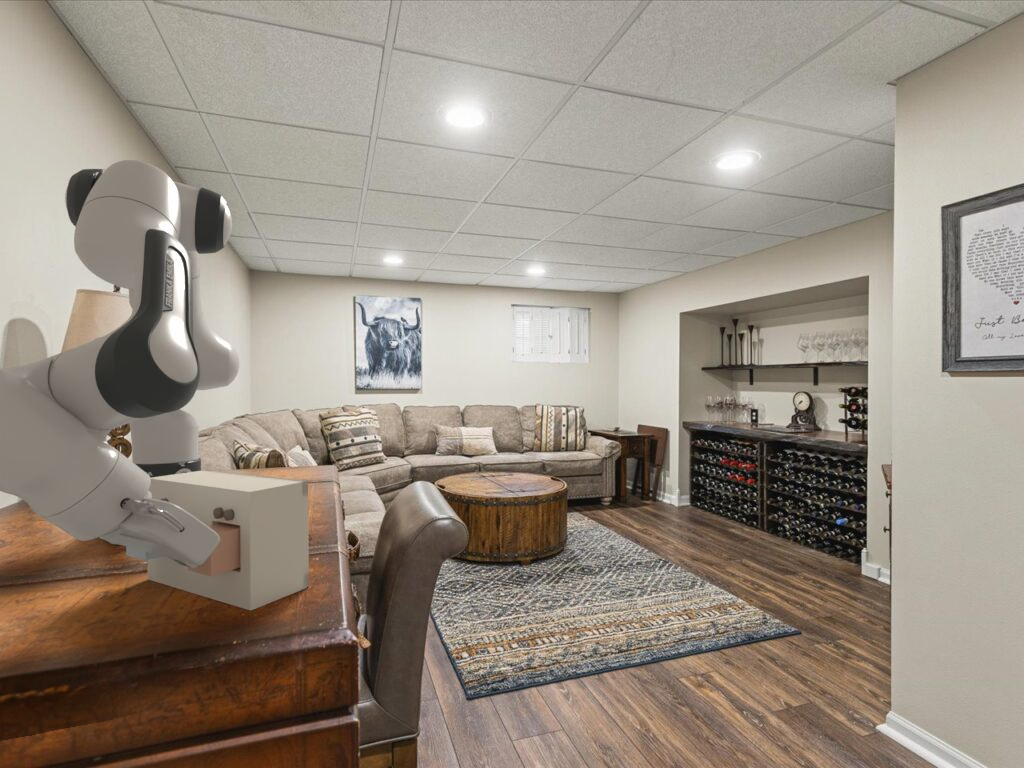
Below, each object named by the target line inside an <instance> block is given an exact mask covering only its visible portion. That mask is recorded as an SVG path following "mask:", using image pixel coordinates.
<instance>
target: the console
mask: <svg viewBox="0 0 1024 768" xmlns="http://www.w3.org/2000/svg"><path fill="white" fill-rule="evenodd" d="M150 479H151V484H150V487H149V491H150V492H151V494H152V499H157V500H162V501H167V502H170V503H173V504H175V505H177V506H178V507H180V508H182V509H184V510H185V511H187V512H188V513H190V514H191V515H193V516H194V517H195V518H197V519H198V520H200V521H201V522H203V523H204V524H205V525H207V526H211V525H215V524H219V523H228V524H234V525H239V526H240V562H241V567H240V568H236V569H233V570H230V571H227V572H224V573H221V574H218V575H215V576H207V575H204V574H200V573H196V572H193V571H189V570H188V567H187V566H183V565H180V564H178V563H176V562H175V561H173V560H172V559H170V558H168V557H164V556H162V557H158V558H154V559H151V560H147V580H149V581H152V582H155V583H159V584H162V585H165V586H167V587H168V586H169V587H172V588H174V589H178V590H181V591H185V592H188V593H191V594H194V595H198V596H201V597H205V598H207V599H210V600H214V601H216V602H217V601H218V602H221V603H224V604H227V605H231V606H234V607H237V608H240V609H244V610H247V611H253V610H255V609H259V608H260V607H263V606H265V605H268V604H270V603H273V602H276V601H278V600H280V599H282V598H286V597H288V596H290V595H293V594H295V593H298V592H300V591H303V590H305V589H308V588H309V587H310V585H309V584H310V581H309V580H310V579H309V577H310V576H309V575H310V572H309V571H310V568H309V567H310V565H309V564H310V563H309V562H310V561H309V559H310V554H309V544H310V543H309V542H310V540H309V539H310V537H309V480H305V479H304V480H303V479H302V480H301V479H295V478H286V477H277V476H268V475H267V476H266V475H260V474H259V475H257V474H246V473H239V472H230V471H221V470H220V471H219V470H212V469H204V470H202V469H201V471H195V472H188V473H181V474H174V475H167V476H159V477H152V478H150ZM307 587H308V588H307Z"/></svg>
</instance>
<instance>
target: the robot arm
mask: <svg viewBox="0 0 1024 768" xmlns="http://www.w3.org/2000/svg"><path fill="white" fill-rule="evenodd" d="M64 195H65V197H64V199H65V200H64V201H65V202H64V203H65V207H66V211H67V214H68V218H69V220H70V222H71V224H72V225H73V226H74V227H75V229H74V235H73V236H74V237H73V245H74V251H75V254H76V255H77V257H78V259H79V261H81V263H82V264H83V265H84V267H85V268H86V269H87V270H89V272H90V273H92V274H93V275H94V276H96V277H97V278H99V279H101V280H102V281H104V282H106V283H109V284H111V285H113V286H116V287H119V288H122V289H127V290H128V302H129V305H130V307H131V310H132V311H131V315H130V316H129V317H128V318H127V320H126V321H125V322H123V323H122V324H121V325H120V326H119V327H117V328H116V329H114V330H112V331H111V332H109V333H107V334H106V335H103V336H98V337H95V338H94V339H92V340H91V341H88V342H87V343H83V344H81V345H79V346H75V347H74V348H70V349H66V350H64V351H62V352H60V353H57V354H54V355H51V356H49V357H46V358H44V359H41V360H38V361H35V362H32V363H31V362H30V363H28V364H27V363H26V364H23V365H20V366H15V367H14V366H13V367H6V368H0V492H3V493H4V494H9V495H12V496H15V497H17V498H20V499H21V500H23V501H24V502H26V504H27V505H29V507H30V509H32V511H33V512H34V513H35V514H37V515H38V516H39V517H41V518H42V519H44V520H46V521H48V522H49V523H50V524H51V525H53V526H55V527H57V528H58V529H60V530H62V531H63V532H65V533H66V534H68V535H70V536H71V537H73V538H75V539H76V540H78V541H81V542H83V541H84V542H85V541H91V540H95V539H101V540H104V541H106V542H108V543H109V544H111V545H120V546H124V547H126V546H127V547H130V548H134V549H138V550H142V551H145V552H149V553H153V554H157V555H160V556H164V557H168V558H170V559H172V560H173V561H175V562H176V563H178V564H180V565H183V566H187V567H191V568H196V567H197V566H198V565H202V564H203V563H204V562H205V561H206V560H207V559H208V557H209V556H210V555H211V554H212V552H213V551H214V550H215V548H216V547H217V546H218V544H219V542H220V537H219V535H218V534H217V533H216V532H215V531H214V530H212V529H211V528H210V527H208V526H207V525H205V524H204V523H203V522H201V521H200V520H198V519H197V518H195V517H194V516H193V515H191V514H190V513H188V512H187V511H185V510H184V509H182V508H180V507H178V506H177V505H175V504H173V503H170V502H167V501H162V500H157V499H152V494H151V492H150V491H149V487H150V484H151V479H150V478H152V477H159V476H167V475H174V474H181V473H188V472H195V471H202V468H203V465H202V459H201V458H200V456H199V447H200V446H199V438H200V437H199V435H200V434H199V432H200V431H199V428H200V427H199V424H198V420H197V419H196V417H194V416H193V415H192V414H190V413H189V412H188V411H184V410H183V408H184V407H186V405H187V404H189V403H190V402H191V400H192V399H193V398H194V397H195V394H196V392H197V391H207V390H212V389H220V388H224V387H228V386H229V385H230V384H232V382H234V380H235V378H236V377H237V376H238V373H239V369H240V359H239V354H238V352H237V350H236V349H235V347H234V346H233V345H232V344H231V343H230V342H229V341H227V340H226V339H224V338H222V337H221V336H220V335H219V334H217V332H215V331H214V330H213V329H212V327H211V325H209V324H208V321H207V320H206V318H205V316H204V313H203V309H202V301H201V285H200V283H201V282H200V279H201V275H200V274H201V273H200V272H201V268H200V267H201V262H200V255H202V254H203V255H204V254H208V255H209V254H215V253H218V252H220V251H221V250H222V249H224V248H225V246H226V244H227V243H228V241H229V239H230V238H231V234H232V231H233V219H232V218H233V217H232V214H231V211H230V208H229V205H228V201H226V199H225V198H224V196H222V195H221V194H220V193H218V192H215V191H213V190H211V189H208V188H205V187H201V188H198V187H195V186H192V185H189V184H186V183H183V182H182V183H181V182H178V181H175V180H172V178H171V177H170V175H168V174H167V173H166V172H165V171H164V170H163V169H161V168H159V167H158V166H155V165H154V164H151V163H149V162H146V161H143V160H137V159H125V160H119V161H116V162H114V163H112V164H111V165H109V166H107V168H105V169H103V168H84V169H81V170H79V171H78V172H76V173H74V174H72V175H71V176H70V179H69V180H68V183H67V186H66V189H65V194H64ZM125 425H129V429H130V439H131V453H132V454H131V456H132V457H131V459H132V460H130V459H129V458H128V457H127V456H125V454H123V453H122V452H120V450H118V449H116V448H115V447H114V446H112V445H110V444H109V443H108V441H107V437H108V435H109V434H110V432H112V430H113V429H114V430H115V429H117V428H119V427H122V426H125Z"/></svg>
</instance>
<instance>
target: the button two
mask: <svg viewBox="0 0 1024 768" xmlns="http://www.w3.org/2000/svg"><path fill="white" fill-rule="evenodd" d="M208 527H210V528H211V529H212V530H214V531H215V532H216V533H217V534H218V535H219V537H220V542H219V544H218V546H217V547H216V548H215V550H214V551H213V552H212V554H211V555H210V556H209V557H208V559H207V560H206V561H205V562H204V563H203V564H202V565H198V566H197V567H196V568H191V567H188V570H189V571H193V572H196V573H200V574H204V575H207V576H215V575H218V574H221V573H224V572H227V571H230V570H233V569H236V568H240V567H241V562H240V526H239V525H234V524H228V523H219V524H215V525H211V526H208Z"/></svg>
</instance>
